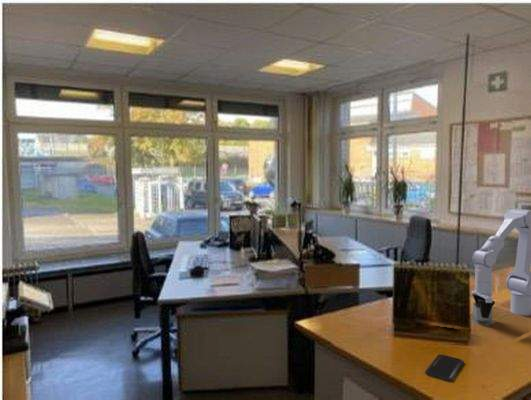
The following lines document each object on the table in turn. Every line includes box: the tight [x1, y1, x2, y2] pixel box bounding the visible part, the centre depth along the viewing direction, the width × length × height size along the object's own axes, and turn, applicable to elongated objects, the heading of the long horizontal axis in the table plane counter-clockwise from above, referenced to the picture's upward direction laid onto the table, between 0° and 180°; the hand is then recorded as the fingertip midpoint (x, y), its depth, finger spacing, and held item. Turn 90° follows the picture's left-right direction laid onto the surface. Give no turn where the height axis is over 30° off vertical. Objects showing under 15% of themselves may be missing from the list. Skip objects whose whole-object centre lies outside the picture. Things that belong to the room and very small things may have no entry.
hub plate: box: [470, 317, 496, 327], centre depth 161 cm, size 7×7×4 cm
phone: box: [424, 353, 465, 383], centre depth 128 cm, size 8×1×15 cm
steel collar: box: [472, 302, 493, 321], centre depth 161 cm, size 5×5×5 cm
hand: (482, 314), depth 161 cm, fingers closed on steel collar, 5 cm apart
